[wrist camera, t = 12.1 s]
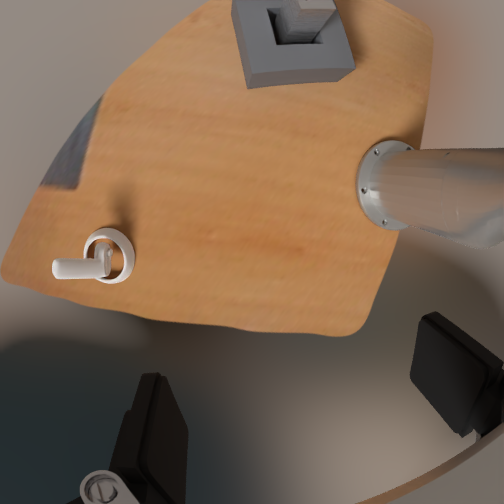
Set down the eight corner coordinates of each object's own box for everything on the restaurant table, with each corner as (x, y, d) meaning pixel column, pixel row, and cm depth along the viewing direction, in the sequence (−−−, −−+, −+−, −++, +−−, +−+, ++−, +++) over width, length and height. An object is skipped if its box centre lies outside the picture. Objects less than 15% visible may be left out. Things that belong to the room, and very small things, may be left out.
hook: (38, 223, 28) (58, 224, 25) (111, 228, 39) (140, 229, 35) (37, 284, 29) (56, 295, 25) (109, 279, 39) (137, 287, 36)
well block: (316, 10, 29) (330, -10, 23) (337, 81, 32) (356, 68, 26) (231, 14, 28) (232, -9, 23) (247, 89, 32) (252, 73, 26)
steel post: (294, 33, 30) (324, -17, 17) (301, 54, 31) (336, 8, 18) (268, 36, 30) (289, -17, 17) (275, 57, 31) (301, 8, 18)
